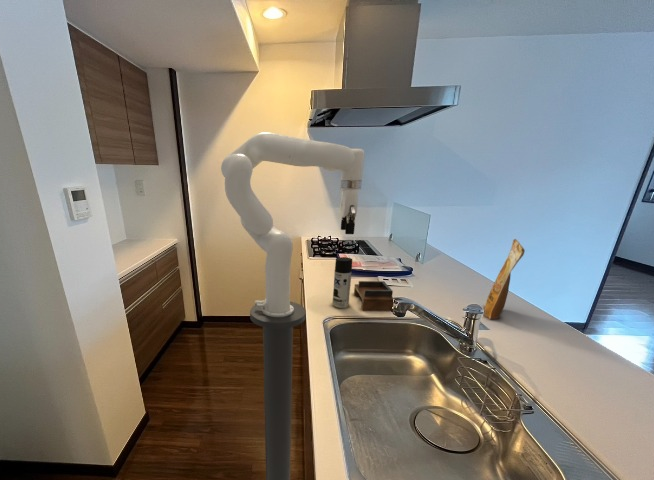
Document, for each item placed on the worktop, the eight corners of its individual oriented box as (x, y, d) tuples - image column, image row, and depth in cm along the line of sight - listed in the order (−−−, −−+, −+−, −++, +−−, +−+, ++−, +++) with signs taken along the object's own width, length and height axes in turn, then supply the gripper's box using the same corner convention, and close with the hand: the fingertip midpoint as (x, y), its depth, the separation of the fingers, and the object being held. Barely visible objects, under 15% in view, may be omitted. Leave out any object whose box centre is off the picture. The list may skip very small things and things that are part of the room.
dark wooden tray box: (362, 310, 128) (364, 293, 125) (353, 294, 145) (355, 279, 142) (392, 310, 127) (395, 293, 125) (380, 294, 144) (382, 279, 141)
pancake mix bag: (505, 306, 130) (524, 238, 120) (503, 323, 116) (526, 247, 105) (485, 303, 134) (503, 236, 123) (482, 319, 119) (501, 245, 109)
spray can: (329, 304, 134) (332, 258, 127) (341, 301, 137) (345, 256, 130) (339, 309, 129) (342, 261, 121) (352, 306, 131) (356, 259, 124)
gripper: (337, 184, 126) (333, 228, 132) (345, 186, 110) (341, 235, 116) (356, 184, 126) (352, 228, 132) (366, 186, 110) (361, 236, 116)
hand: (346, 231), depth 124 cm, fingers open, 9 cm apart
